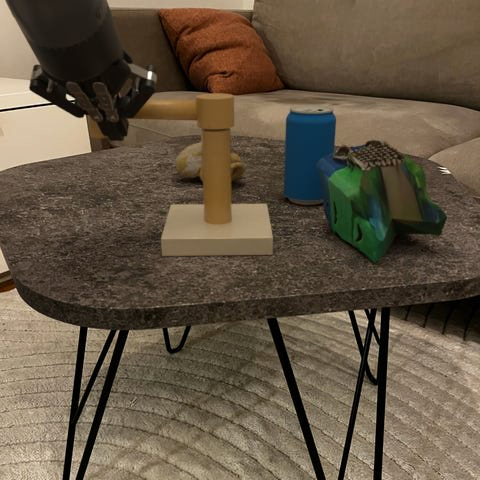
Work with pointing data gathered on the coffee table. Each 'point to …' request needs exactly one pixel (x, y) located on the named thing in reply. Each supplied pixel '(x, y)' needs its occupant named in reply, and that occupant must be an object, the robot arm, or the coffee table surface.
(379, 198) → the sculpture
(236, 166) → the seashell
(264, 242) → the faucet base
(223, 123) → the spout
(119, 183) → the coffee table surface
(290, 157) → the beverage can
